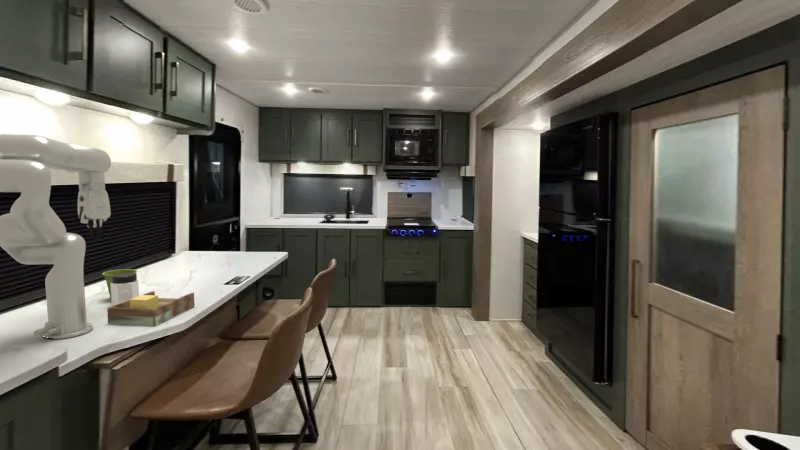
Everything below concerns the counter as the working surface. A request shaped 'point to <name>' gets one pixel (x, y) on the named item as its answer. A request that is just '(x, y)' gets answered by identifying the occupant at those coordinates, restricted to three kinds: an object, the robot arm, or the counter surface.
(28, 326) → the counter surface
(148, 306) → the block
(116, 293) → the jar
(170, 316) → the wooden tray
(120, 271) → the plant pot
